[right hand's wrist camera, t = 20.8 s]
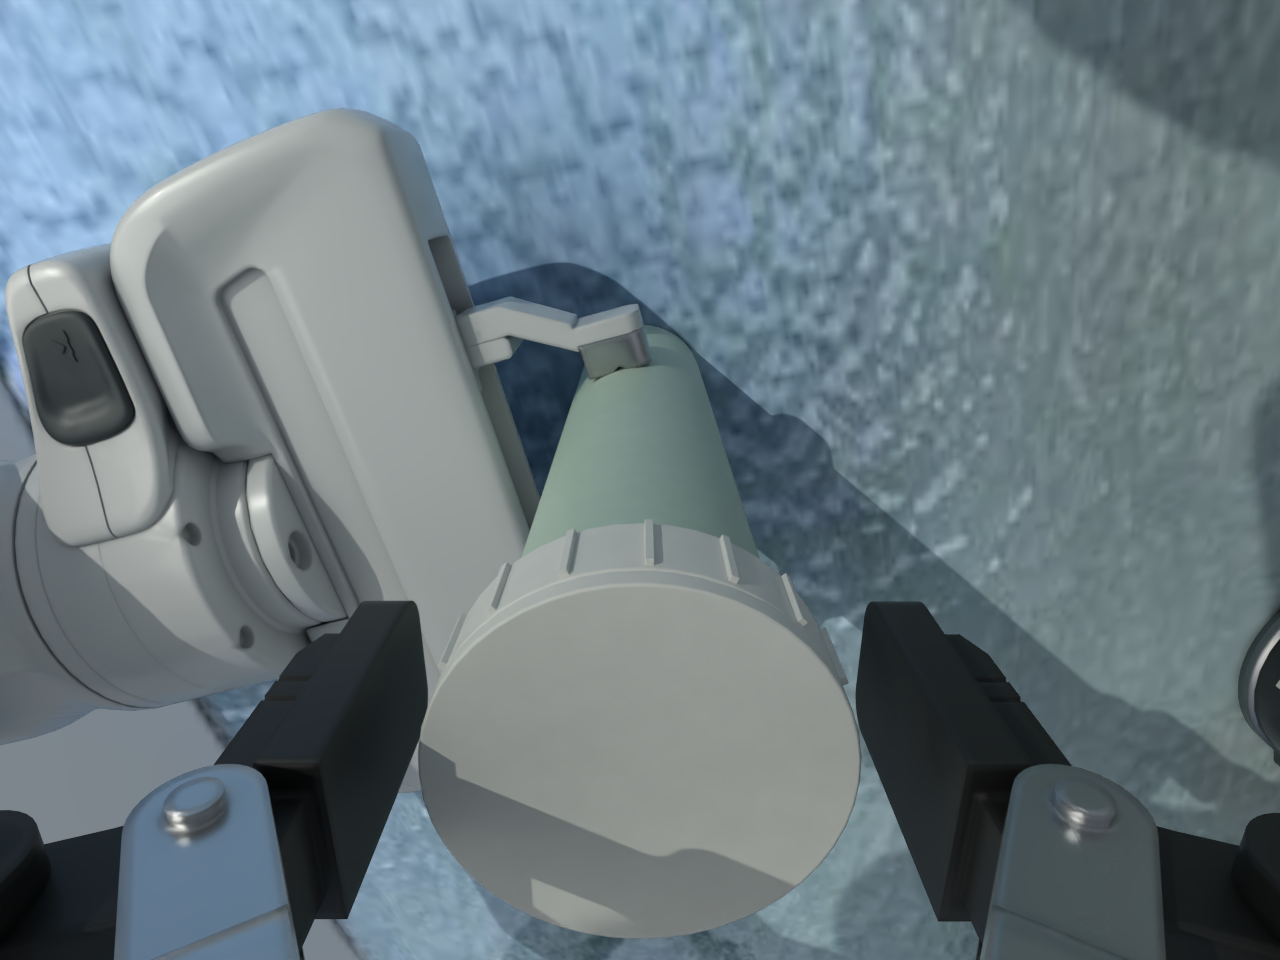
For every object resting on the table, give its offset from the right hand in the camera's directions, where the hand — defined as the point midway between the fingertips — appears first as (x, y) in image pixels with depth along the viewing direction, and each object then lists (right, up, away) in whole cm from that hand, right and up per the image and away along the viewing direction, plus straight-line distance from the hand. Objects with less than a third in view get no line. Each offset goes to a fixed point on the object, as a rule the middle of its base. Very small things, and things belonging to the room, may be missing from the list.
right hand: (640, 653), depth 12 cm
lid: (0, -1, -2) cm, 2 cm away
